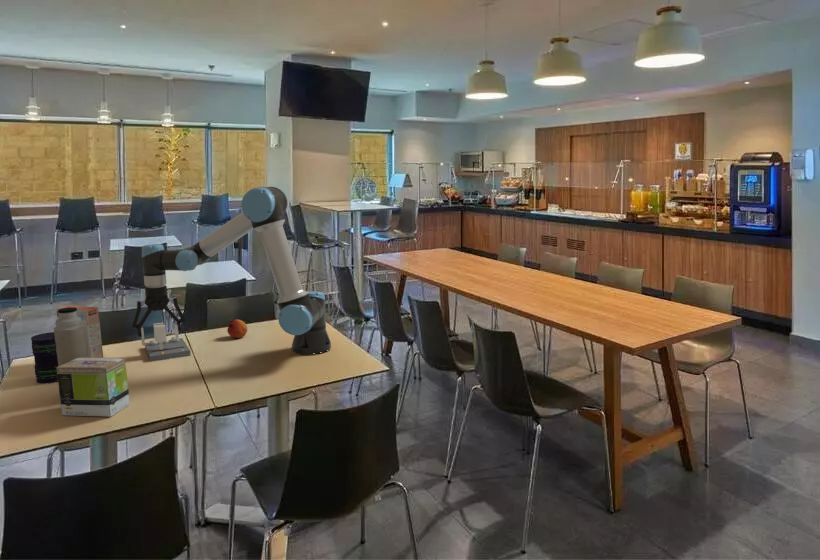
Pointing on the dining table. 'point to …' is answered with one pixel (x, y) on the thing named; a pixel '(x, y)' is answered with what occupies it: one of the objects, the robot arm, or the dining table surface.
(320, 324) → the robot arm
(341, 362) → the dining table surface
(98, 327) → the cracker box
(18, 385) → the dining table surface
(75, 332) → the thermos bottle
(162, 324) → the block
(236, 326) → the fruit
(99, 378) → the tea box
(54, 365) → the black striped canister
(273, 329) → the dining table surface
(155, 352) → the console
